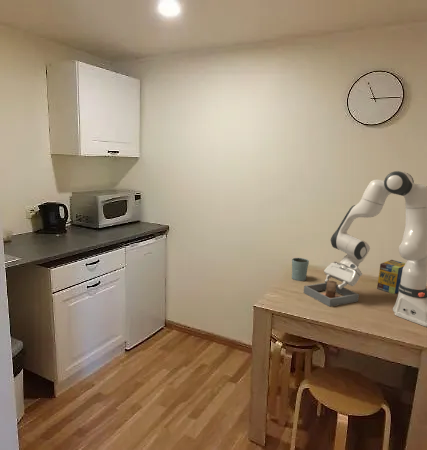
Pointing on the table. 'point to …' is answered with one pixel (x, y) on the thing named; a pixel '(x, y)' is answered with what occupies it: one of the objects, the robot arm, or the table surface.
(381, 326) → the table surface
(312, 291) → the shallow gray dish
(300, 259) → the teal cup
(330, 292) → the walnut post
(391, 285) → the protein box
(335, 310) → the table surface
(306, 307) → the table surface
